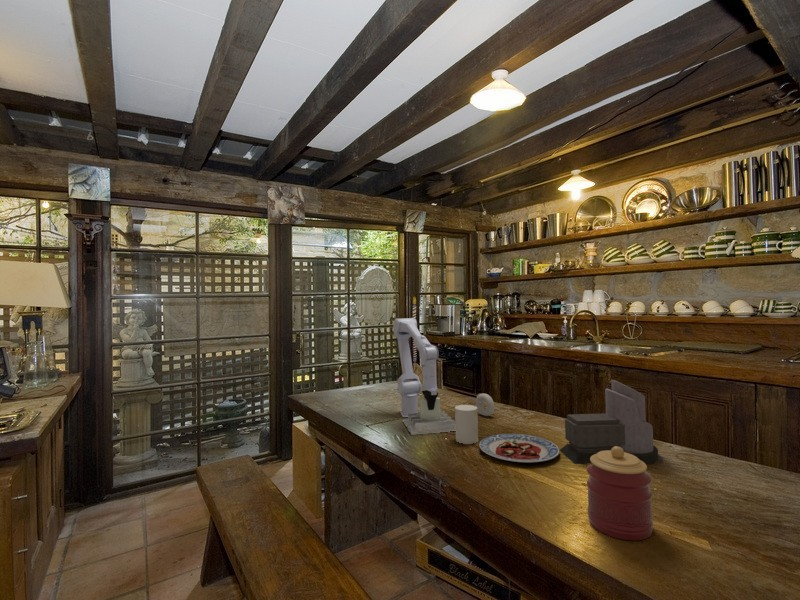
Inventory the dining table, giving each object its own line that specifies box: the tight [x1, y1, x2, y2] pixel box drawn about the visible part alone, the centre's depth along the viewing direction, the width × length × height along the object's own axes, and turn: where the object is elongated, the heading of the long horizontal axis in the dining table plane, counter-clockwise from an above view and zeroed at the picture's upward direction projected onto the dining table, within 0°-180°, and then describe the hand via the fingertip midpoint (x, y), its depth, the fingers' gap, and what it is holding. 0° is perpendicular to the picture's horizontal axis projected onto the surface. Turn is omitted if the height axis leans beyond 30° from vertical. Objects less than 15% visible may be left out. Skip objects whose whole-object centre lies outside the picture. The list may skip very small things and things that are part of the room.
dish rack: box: [402, 410, 456, 436], centre depth 166 cm, size 18×20×4 cm
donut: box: [475, 393, 495, 417], centre depth 179 cm, size 10×3×10 cm, turn 35°
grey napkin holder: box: [559, 379, 664, 465], centre depth 131 cm, size 30×16×24 cm, turn 92°
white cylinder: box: [454, 404, 479, 445], centre depth 149 cm, size 8×8×12 cm
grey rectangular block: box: [419, 397, 442, 419], centre depth 166 cm, size 2×8×8 cm, turn 100°
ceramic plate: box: [478, 433, 560, 463], centre depth 136 cm, size 26×26×3 cm
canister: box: [586, 446, 654, 542], centre depth 91 cm, size 13×13×18 cm
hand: (430, 408), depth 166 cm, fingers closed on grey rectangular block, 2 cm apart
